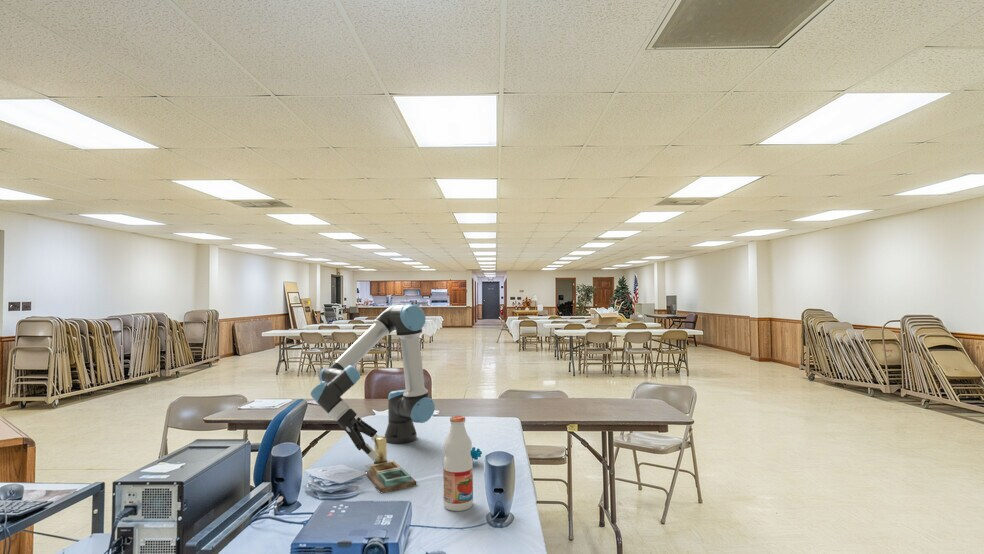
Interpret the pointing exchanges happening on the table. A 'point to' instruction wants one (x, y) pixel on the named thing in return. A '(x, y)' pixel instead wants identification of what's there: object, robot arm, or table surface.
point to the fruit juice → (458, 467)
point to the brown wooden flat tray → (389, 476)
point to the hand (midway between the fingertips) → (380, 452)
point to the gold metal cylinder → (381, 449)
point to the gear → (475, 453)
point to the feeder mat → (371, 464)
